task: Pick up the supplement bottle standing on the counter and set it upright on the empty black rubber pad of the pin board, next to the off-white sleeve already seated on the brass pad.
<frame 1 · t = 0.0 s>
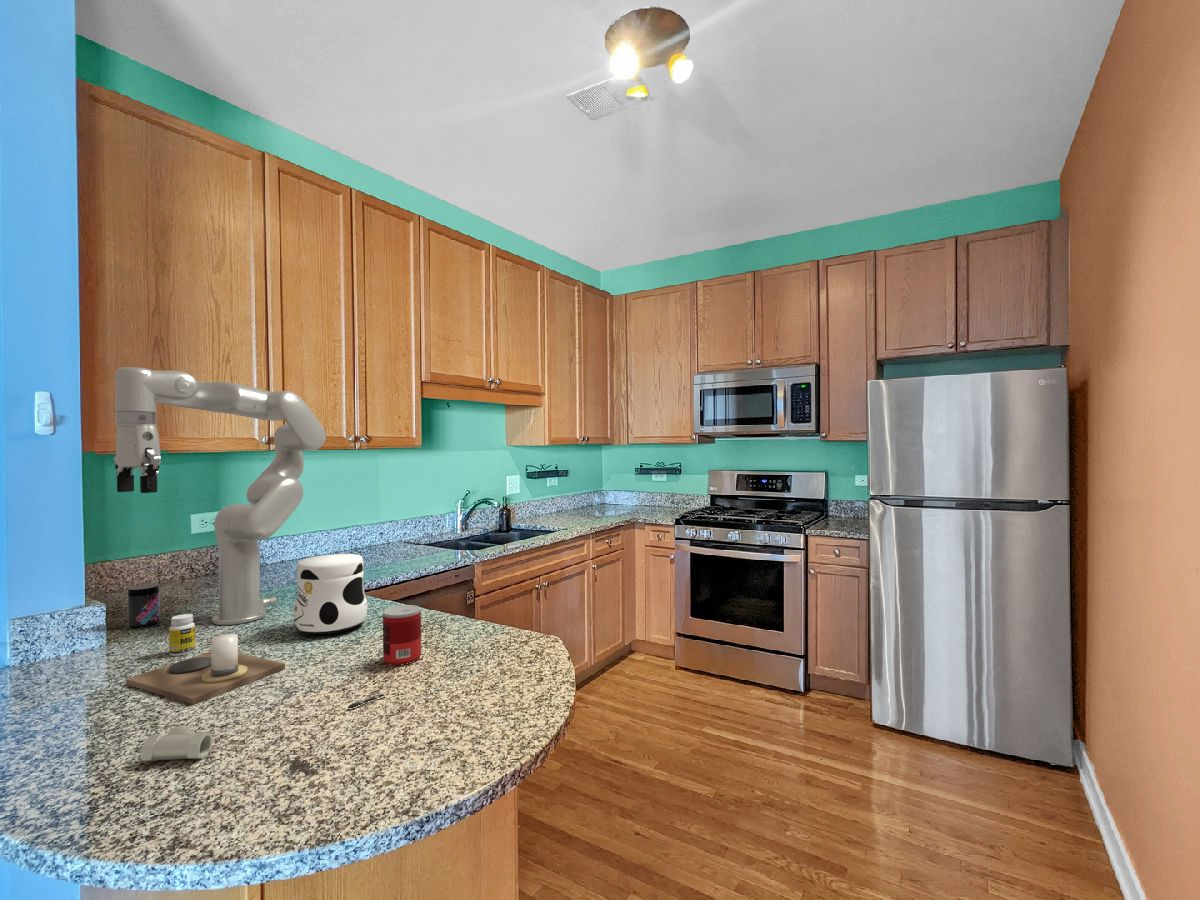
hand: (137, 492, 131), 37 cm above the countertop, tool pointing down, fingers open, 9 cm apart
canned food: (402, 660, 122), on the countertop
supplement container: (144, 626, 148), on the countertop
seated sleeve: (224, 672, 111), point 2 cm above the countertop, touching pin board
supplement bottle: (182, 653, 127), on the countertop
pin board: (208, 676, 113), on the countertop
pipe fitting: (184, 755, 85), on the countertop
milk container: (331, 629, 144), on the countertop
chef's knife: (400, 695, 105), on the countertop
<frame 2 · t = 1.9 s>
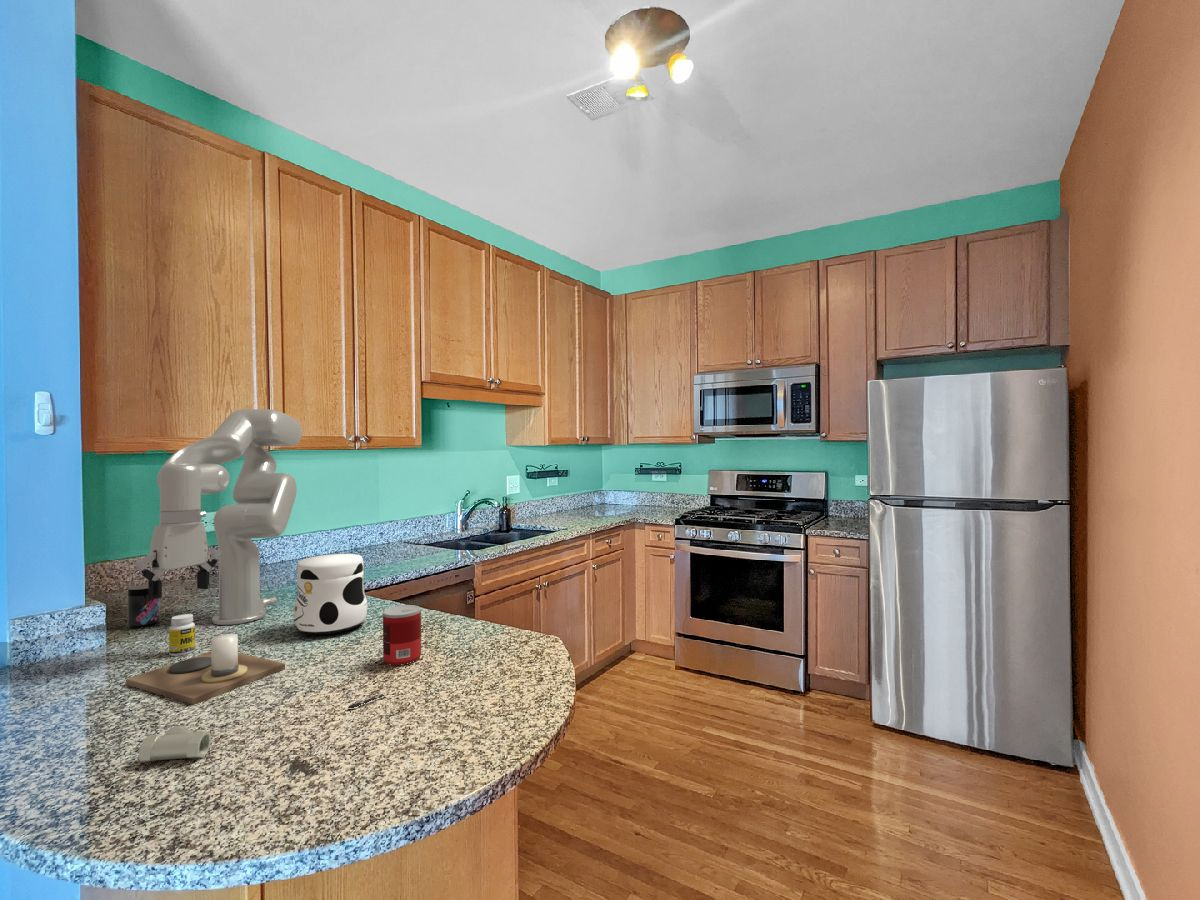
hand: (180, 593, 127), 14 cm above the countertop, tool pointing down, fingers open, 9 cm apart
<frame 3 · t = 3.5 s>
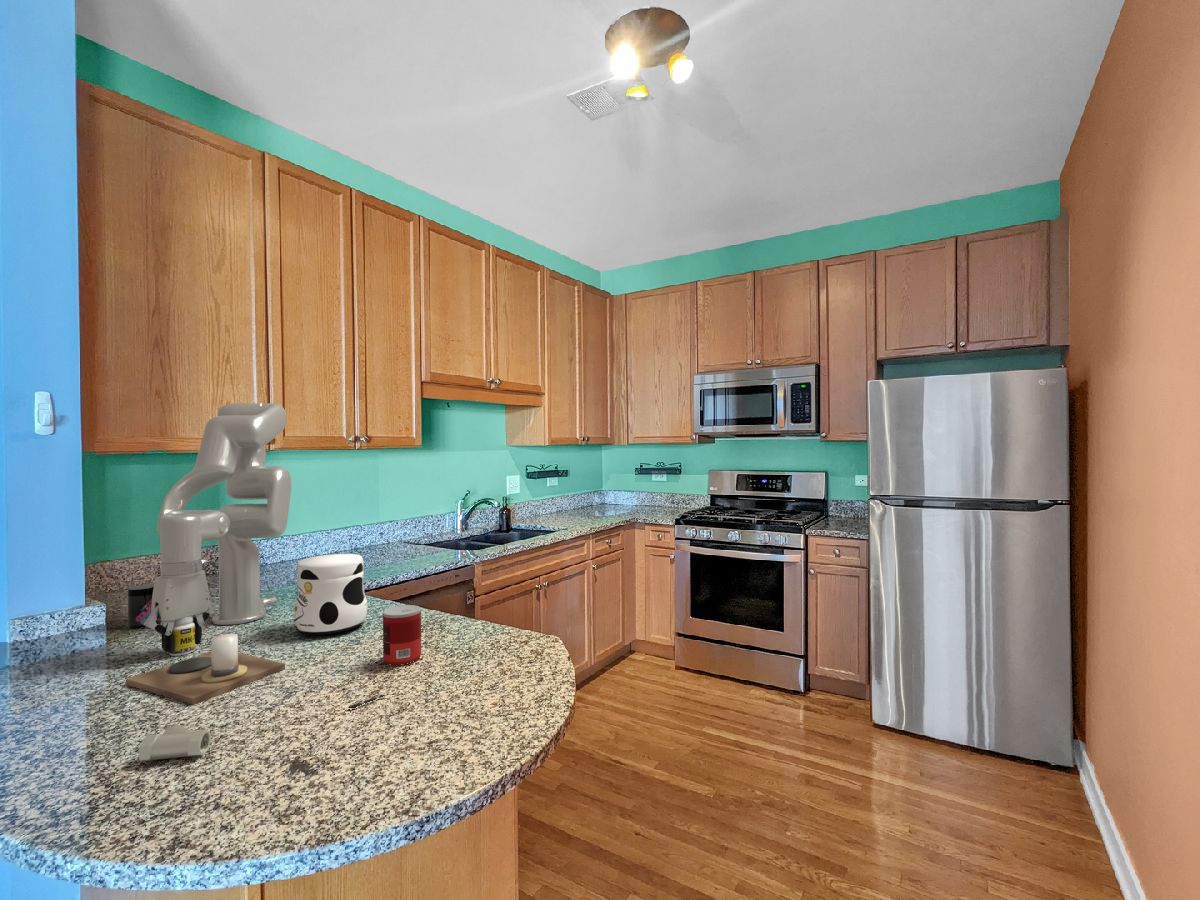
hand: (182, 646, 127), 1 cm above the countertop, tool pointing down, fingers closed on supplement bottle, 4 cm apart
supplement bottle: (182, 653, 127), on the countertop, touching gripper
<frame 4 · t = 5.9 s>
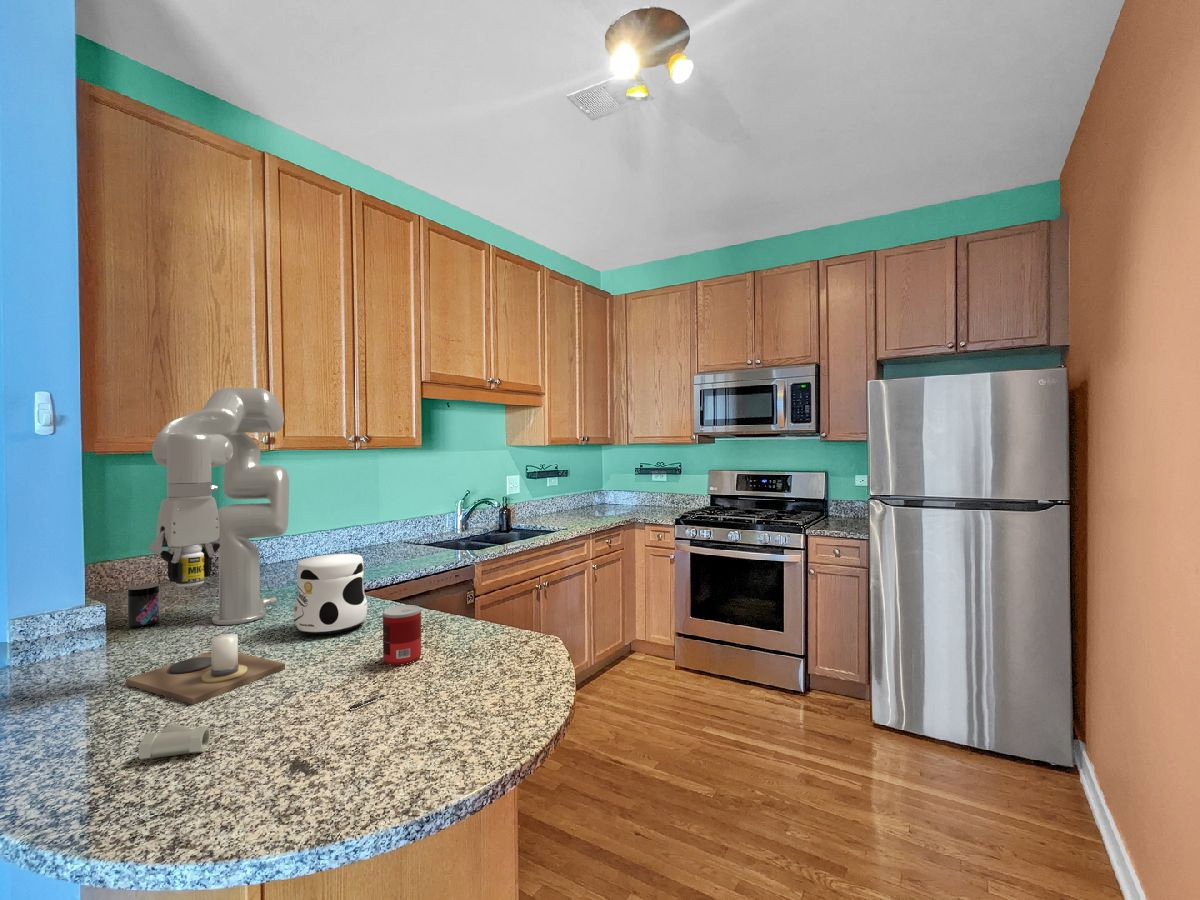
hand: (190, 577, 116), 20 cm above the countertop, tool pointing down, fingers closed on supplement bottle, 4 cm apart
supplement bottle: (190, 585, 116), point 18 cm above the countertop, touching gripper
when the fingers open (4 cm above the countertop, at t = 8.1 s): supplement bottle stays where it is, resting on pin board.
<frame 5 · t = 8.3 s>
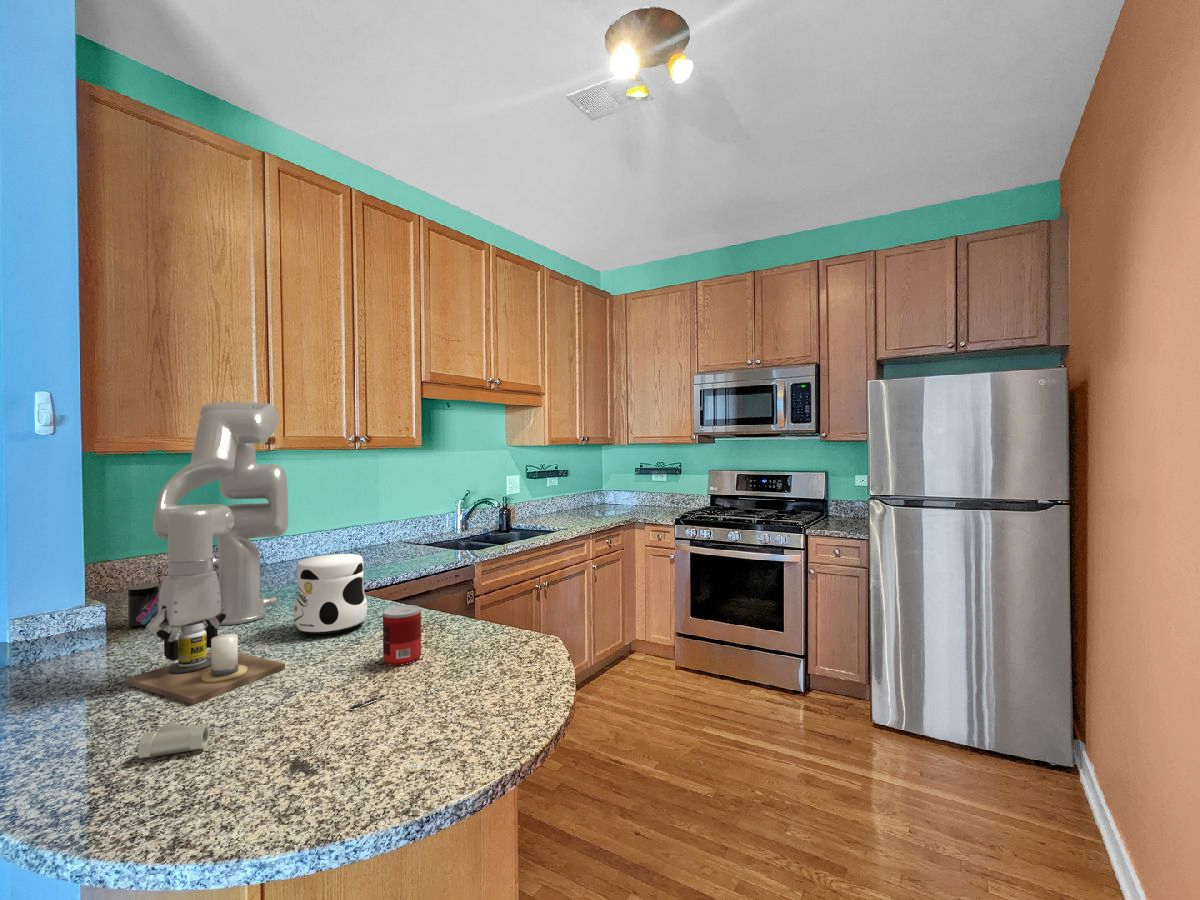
hand: (191, 652, 116), 4 cm above the countertop, tool pointing down, fingers open, 6 cm apart
supplement bottle: (192, 664, 116), point 2 cm above the countertop, touching pin board
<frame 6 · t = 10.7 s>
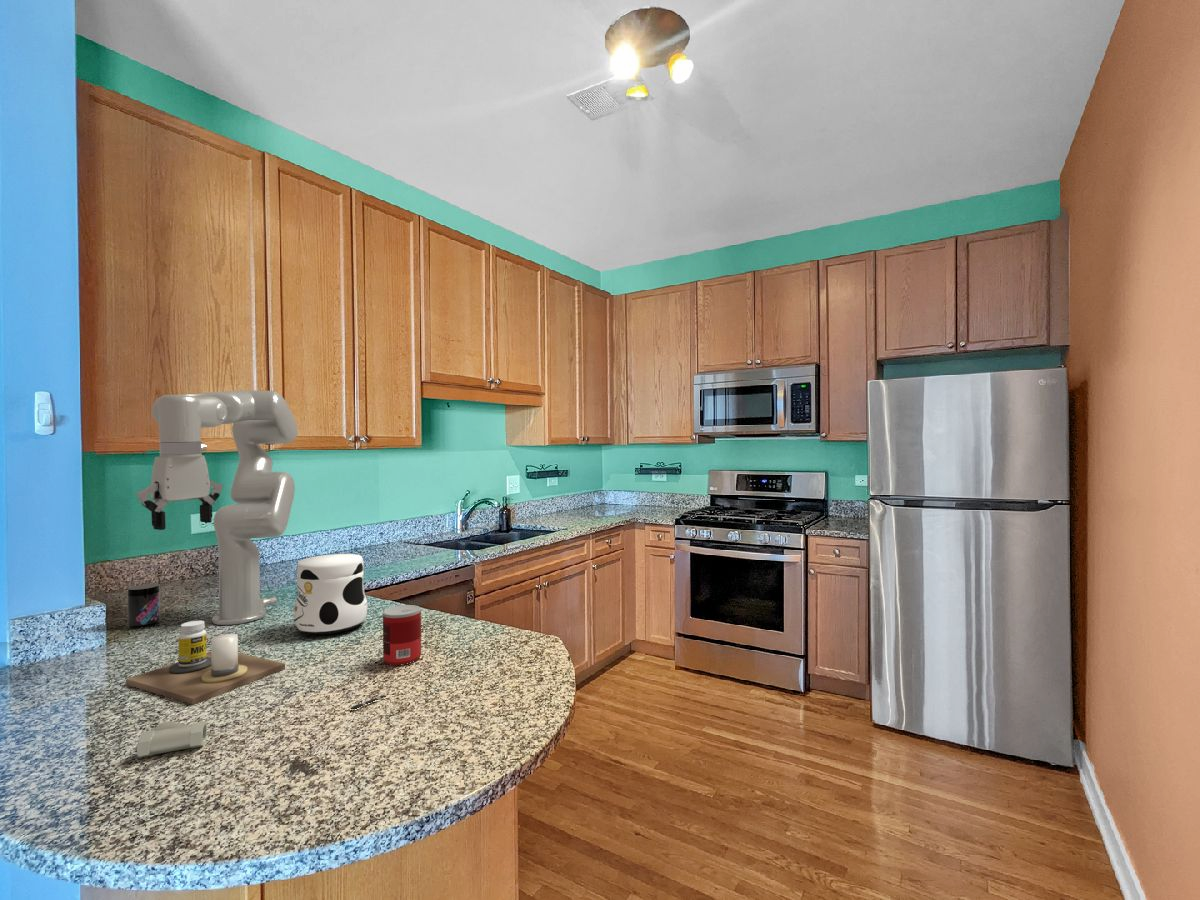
hand: (183, 525, 125), 30 cm above the countertop, tool pointing down, fingers open, 9 cm apart
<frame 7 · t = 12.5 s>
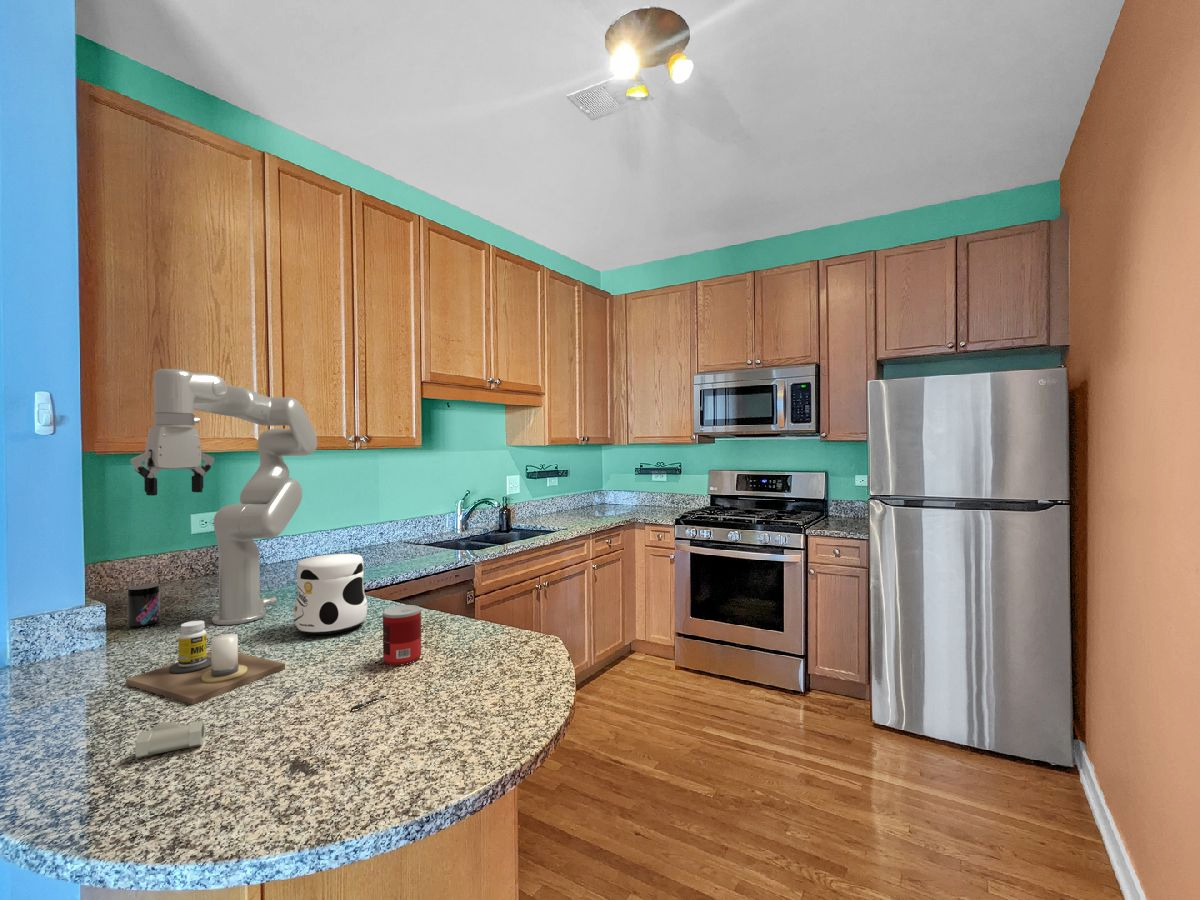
hand: (175, 493, 131), 36 cm above the countertop, tool pointing down, fingers open, 9 cm apart
at the end: supplement bottle inside the target area on the pin board (0.2 cm from its centre), point 1.6 cm above the pin board's base; supplement bottle tilted 0°; the gripper is holding nothing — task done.
